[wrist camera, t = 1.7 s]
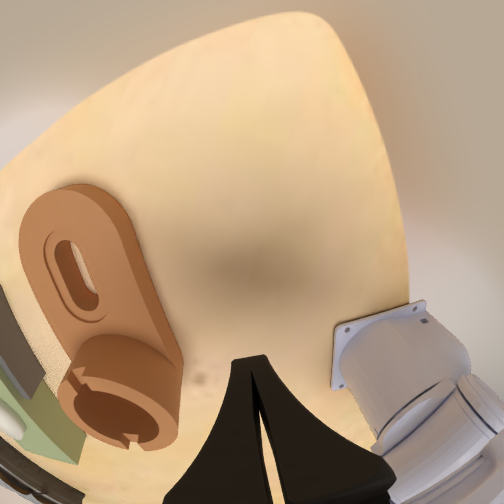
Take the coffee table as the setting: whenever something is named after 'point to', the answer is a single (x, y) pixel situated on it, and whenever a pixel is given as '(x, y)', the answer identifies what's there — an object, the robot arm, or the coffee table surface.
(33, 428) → the green box with button
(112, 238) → the bracket
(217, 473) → the robot arm
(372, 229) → the coffee table surface
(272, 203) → the coffee table surface
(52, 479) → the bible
